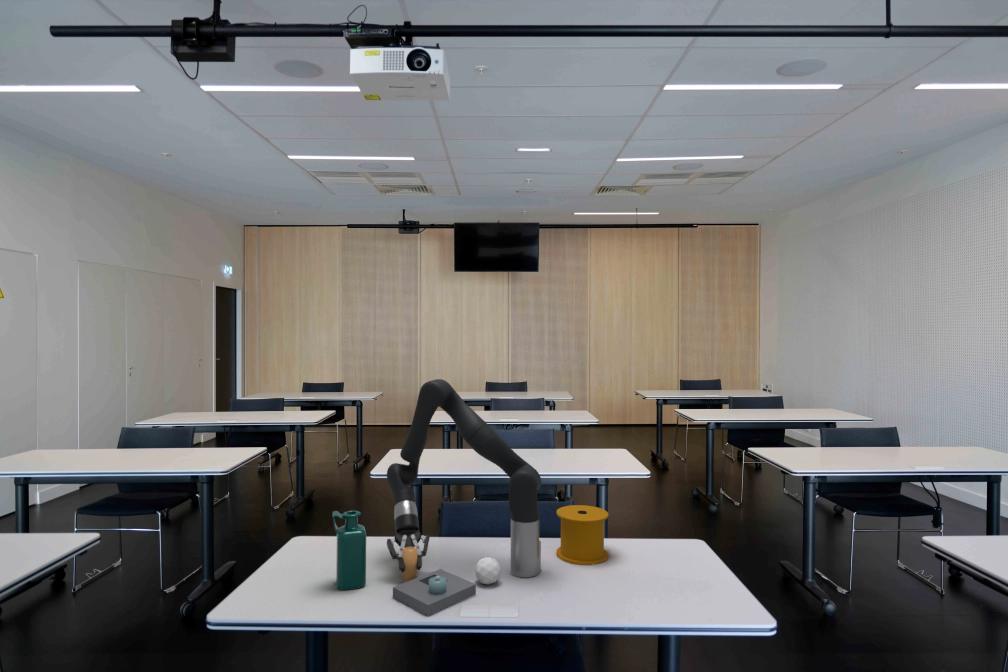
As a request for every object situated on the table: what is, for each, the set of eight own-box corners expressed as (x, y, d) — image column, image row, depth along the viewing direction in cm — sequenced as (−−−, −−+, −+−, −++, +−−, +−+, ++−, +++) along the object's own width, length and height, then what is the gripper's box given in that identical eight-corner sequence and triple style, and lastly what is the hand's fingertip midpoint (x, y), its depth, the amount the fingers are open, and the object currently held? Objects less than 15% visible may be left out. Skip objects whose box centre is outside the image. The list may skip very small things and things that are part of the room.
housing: (440, 578, 173) (440, 556, 173) (475, 594, 162) (476, 570, 162) (392, 597, 160) (392, 573, 160) (428, 616, 149) (428, 590, 149)
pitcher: (364, 576, 174) (364, 506, 175) (366, 588, 166) (366, 514, 166) (331, 580, 171) (332, 509, 171) (332, 592, 163) (333, 517, 163)
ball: (491, 594, 169) (494, 580, 164) (469, 581, 171) (471, 567, 166) (503, 574, 174) (506, 559, 170) (481, 562, 177) (483, 547, 172)
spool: (612, 565, 184) (612, 520, 184) (558, 564, 185) (558, 519, 185) (603, 545, 202) (603, 504, 202) (554, 545, 203) (554, 504, 203)
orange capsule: (411, 577, 174) (411, 545, 174) (420, 581, 171) (420, 548, 171) (399, 581, 171) (400, 549, 171) (408, 585, 168) (408, 552, 168)
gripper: (384, 514, 176) (388, 567, 164) (429, 510, 180) (435, 562, 169) (383, 526, 181) (386, 578, 169) (426, 522, 185) (432, 572, 174)
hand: (410, 569), depth 169 cm, fingers closed on orange capsule, 4 cm apart
